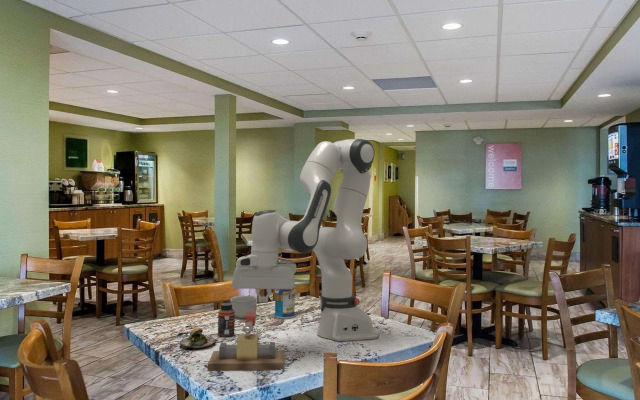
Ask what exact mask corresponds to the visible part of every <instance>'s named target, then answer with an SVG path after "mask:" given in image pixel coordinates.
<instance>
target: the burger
mask: <svg viewBox="0 0 640 400" xmlns="http://www.w3.org/2000/svg"><path fill="white" fill-rule="evenodd" d="M195 325H196V324H194V328H192V329H191V330H190V333H189V336H188V337H186V338H183V339H181V340H180V341H179V344H180V345H179V348H180V349H182V350H184V351H187V348H190V349H201V348H206V347H209V346H212V345H213V344H216V342H217V339H216V338H215V337H212V336H206V335H205V334H204V333H203V329H202V328H201V327H196V326H195Z"/></svg>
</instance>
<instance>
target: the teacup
mask: <svg viewBox="0 0 640 400" xmlns="http://www.w3.org/2000/svg"><path fill="white" fill-rule="evenodd" d="M257 299H258V296H255V295H244V294H243V295H239V296H234V297H232V298H230V303H231V304H232V309H233V310H234V311H235V318H237V319H245V316H246V313H247V312H256V313H257V308H258V306H257Z"/></svg>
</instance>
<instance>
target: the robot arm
mask: <svg viewBox="0 0 640 400" xmlns="http://www.w3.org/2000/svg"><path fill="white" fill-rule="evenodd" d="M311 151H312V152H311V153H310V154H309V156H308V158H307V159H306V161H305V164H304V165H303V167H302V169H301V171H300V175H299V181H300V182H299V183H300V184H301V187H302V188H303V189H304V190H305V192H307V193H308V194H310V199H309V203H308V205H307V207H306V210H305V213H304V216H303V217H302V219H300V220H289V219H288V218H286V217H284V216H282V215H281V214H280V213H279V212H278V211H277V210H276V209H275V210H274V209H265V210H261V211H260V210H259V211H258V212H256V213H254V216H253V217H252V218H253V219H252V223H251V224H252V226H251V241H252V244H251V245H252V246H251V248H250V249H251V250H250V254H246V255H244V256H241V257H239V258H238V257H237V260H236V267H235V269H234V270H233V275H232V281H231V287H232V288H233V289H243V290H246V289H247V290H249V289H250V290H255V294H256V295H257V296H256V297H257V298H258V303H259V304H261V303H262V304H268V302H269V297H270V295H271V293H272V290H275V289H293V288H294V289H295V287H296V284H295V282H296V281H295V274H296V272H297V264H296V263H295V262H294V261H293V260H284V259H283V260H281V259H280V260H279V248H280V249H284V250H290V251H294V252H298V253H301V254H306V253H307V254H308V253H310V252H312V251H313V253H314V254H315V256H316V258H317V262H318V265H319V269H320V273H321V295H320V298H319V300H320V301H319V303H320V304H319V307H320V308H319V309H320V317H319V324H318V329H317V331H316V335H318V336H319V337H321V338H324V339H330V340H333V341H336V342H347V341H361V340H362V341H365V340H376V339H378V338H379V336H380V334H379V333H380V332H379V331H378V329H376V328H375V327H374V326H373V321H372V318H371V316H370V315H369V314H368V313H367V312H366V311H364V310H363V309H362V308H361V307H359V306H358V305H360V303H361V300H360V299H359V298H358V297H356V296H354V295H353V274H352V272H351V271H350V269H348V267H347V265H346V262H345V260H356V259H361V258H362V257H363V256H364V255H365V254H366V251H367V249H368V239H367V237H366V235H365V234H364V232H363V228H362V217H363V214H364V213H363V212H364V209H365V205H366V202H367V198H368V195H369V192H370V187H371V180H372V179H371V177H372V175H371V172H370V171H369V170H370V169H371V167H372V165H373V163H374V159H375V148H374V146H373V144H372V142H370V141H369V140H367V139H363V138H356V139H355V138H350V139H348V138H347V139H343V140H338V141H332V142H331V141H325V140H324V141H321V142H319V143H318V144H317V145H316V146H315V147H314V149H313V150H311ZM337 170H342V174H343V175H342V176H343V177H342V180H341V182H340V184H339V188H338V191H337V193H336V197H335V200H334V203H333V207H332V211H333V214H335V216H336V227H332V226H331V227H330V226H324V227H321V226H322V222H323V220H324V217H325V214H326V211H327V209H328V204H329V202H330V198H331V194H332V186H331V184H332V181H333V179H334V176H335V174H336V173H337ZM261 290H266V293H267V294H266V295H265V296H262V295H261V293H260V292H261Z"/></svg>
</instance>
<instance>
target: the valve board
mask: <svg viewBox="0 0 640 400" xmlns="http://www.w3.org/2000/svg"><path fill="white" fill-rule="evenodd" d="M211 353H212V354H211V356H210V358H209V361H208V363H207V371H208V372H210V371H212V372H213V371H219V372H220V371H222V372H224V371H226V372H227V371H282V370H281V369H284V370H285V350H284V349H282V350H281V349H280V350H279V349H278V350H277V349H275V359H269V358H257V360H237V359H219V350H213V352H211ZM276 369H277V370H276Z"/></svg>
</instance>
